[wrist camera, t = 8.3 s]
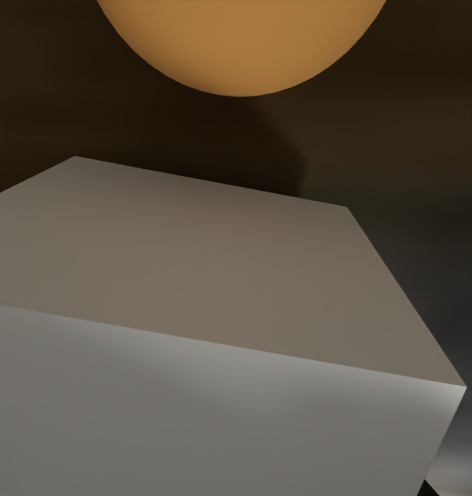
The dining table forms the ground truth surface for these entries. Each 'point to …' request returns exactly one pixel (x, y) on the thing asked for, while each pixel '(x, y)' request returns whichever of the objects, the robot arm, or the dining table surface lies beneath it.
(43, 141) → the dining table surface
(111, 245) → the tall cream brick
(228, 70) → the ball
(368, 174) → the dining table surface
